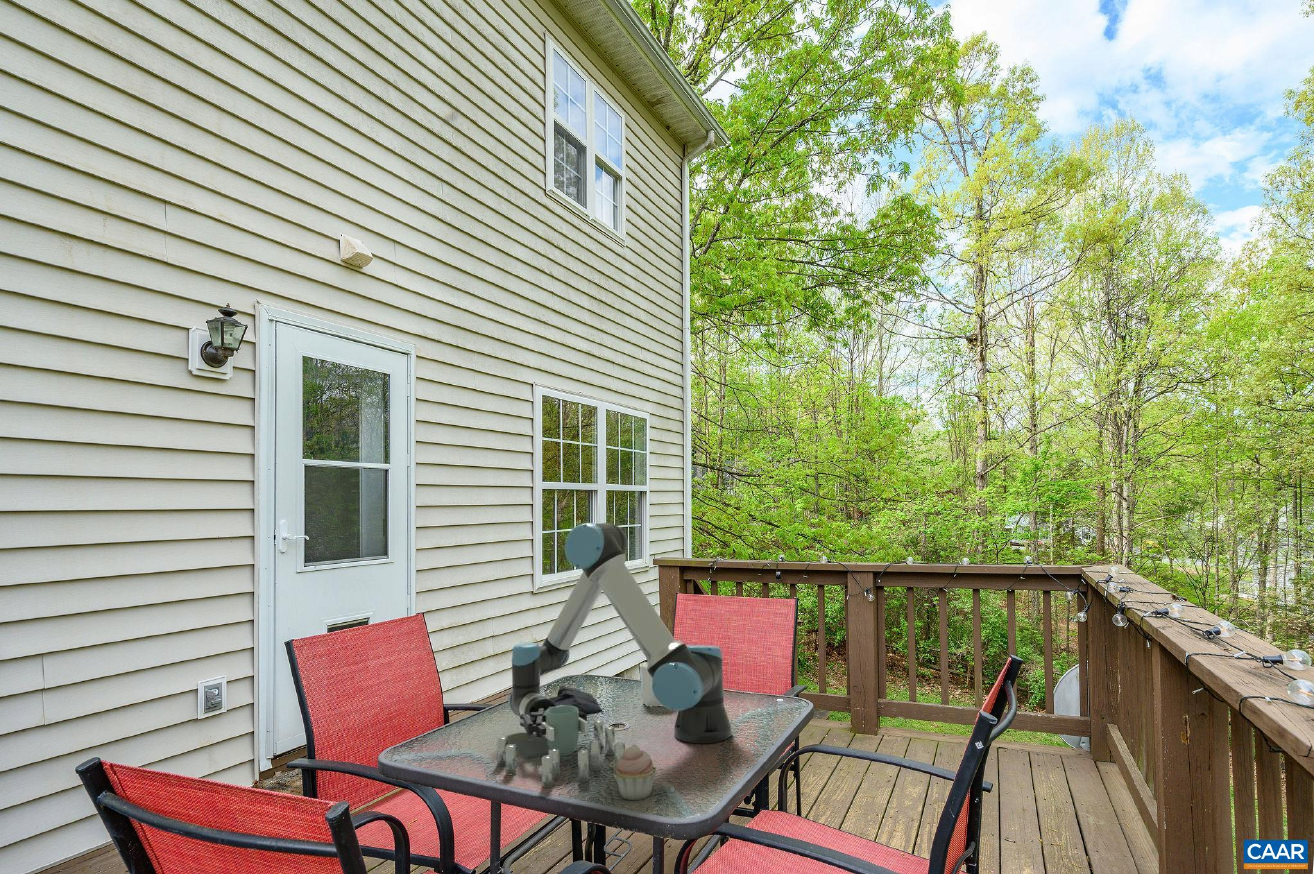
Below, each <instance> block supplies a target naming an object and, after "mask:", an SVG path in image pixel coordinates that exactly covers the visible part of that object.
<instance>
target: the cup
mask: <svg viewBox="0 0 1314 874" xmlns="http://www.w3.org/2000/svg"><path fill="white" fill-rule="evenodd" d="M546 723H547V724H548V725H550V726H551V727H553V728H554V741H550V740H549V739H547V745H548V748H549V749H551V748H559V757H562V756H564V757H565V756H569V755H571V754H573V753H574V752H575V751H576V750H577V747H578V744H579V738H580V731H579V710H578V708H577V707H575V706H568V705H566V706H556V707H551V708H549V709H547V710H546Z"/></svg>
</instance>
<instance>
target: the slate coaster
mask: <svg viewBox="0 0 1314 874" xmlns="http://www.w3.org/2000/svg"><path fill="white" fill-rule="evenodd" d="M512 744H515V745H516V750H518V751H519V752H520V753H521V752H522V753H521V754H522V755H524V757H526V759H530V758H535V757H541V756H545V755H549V748H548V745H547V738H546V737H545V736H543V737H537V738H534V739H528V740H522V741H515V742H512Z"/></svg>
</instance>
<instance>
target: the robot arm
mask: <svg viewBox="0 0 1314 874" xmlns="http://www.w3.org/2000/svg"><path fill="white" fill-rule="evenodd" d="M627 538H628V537H627V535H626V533H625V532H624V530H623V529H622V528H621V527H619V525H616V524H614V523H611V522H603V523H602V522H601V523H595V522H585V523H581V524H578V525H577V526H574V527H573V528H572V529H571V530H570V532H568V534H567V536H566V538H565V543H564V553H565V557H566V560H567V561H568V563H570V564H571V565H572V566H573V567H574V568H576V569H580V570H582V572H581V575H580V576H579V578H578V579H577V582H576V583H575V585H574V587H573V589H572V591H571V593H570V594H569V596H568V598H567V600H566V601H565V604H564V605H563V607H562V608H561V611H560V612H559V614H558V616H557V618H556V620H555V622H554V623H553V625H552V627H551V629H550V630H549V633H547V635H546V636H547V637H546V638H545V639H544V641H543V643H542V644H541V645H539V644H538V643H537V642H523V643H518V644H515V645H514V646H513V647H512V651H511V652H512V653H511V654H512V657H511V675H512V676H511V678H512V679H511V681H512V682H511V685H512V686H511V691H510V694H509V696H508V701H507V704H508V706H509V709H510V710H511V712H513V714H514V715H516V716H517V717H519V726H521V727H523V729H524V730H525V732H526V734H527V735H529V736H532V735H533V734H534V733H535V737H536V738H542V736H543V737H546V738H547V739H549V740H550V741H554V728H553V727H551V726H550V725H548V724H547V723H546V710H547V709H549V708H551V707H555V705H554V703H553V702H552V701H551V700H549V698H548V697H546V696H545V695H542V694H541V675H542V676H543V675H544V674H546V673H549V672H552V671H554V670H555V671H556V670H558V669H560V668H561V667H563V666H564V665H566V664H567V663H568V661H569V659H570V649H571V647H572V645H573V643H574V641H575V640H576V638H577V636H578V634H579V632H580V631H581V629H582V628H583V625H584V623H585V622H586V620H587V618H588V616H589V615H590V613H591V611H592V609H593V608H594V607H595V605H596V602H597V601H598V598H599V597H600V595H601V594H602V592H603V594H604V595H605V596H606V598H607V599H608V601H609V602H610V604H611V605H612V607H613V609H614V610H615V612H616V613H617V615H618V616H619V618H620V619H621V621H622V622H623V624H624V625H625V627H626V629H627V630H628V632H629V633H630V636H632V638H633V640H634V641H635V643H636V645H638V647H639V649H640V651H641V652H642V653H643V655H644V656H645V658H646V660H647V662H648V665H647V671H648V672H649V674H650V676H651V677H652V689H653V693H654V695H655V697H656V699H657V700H658V701H659V703H660V704H662V705H663V707H664V708H665V709H668V710H670V711H675V712H677V715H676V719H675V723H674V728H673V730H674V732H673V733H674V737H675V738H676V739H677V740H679V741H682V742H686V743H691V744H712V743H713V744H715V743H720V742H724V741H726V740H728V739H730V738H731V737H732V724H731V721H730V719H729V716H728V712H727V711H726V707H725V703H724V702H725V701H724V675H723V672H724V671H723V653H722V649H721V648H720V647H718V646H716V645H715V646H714V645H701V644H700V645H696V644H695V645H693V644H691V645H686V643H685V642H684V641H679V640H676V639H675V637H674V636H673V635H672V633H671V631H670V629H668V627H667V626H666V624H665V623H664V621H663V620H662V618H661V616H660V615H659V614H658V612H657V611H656V609H655V608H654V606H653V605H652V602H651V601H650V600H649V598H647V595H646V594H645V593H644V591H643V590H642V588H641V586H640V585H639V584H638V583H637V581H636V579H635V577H634V576H633V574H632V573H631V572H630V570H629V569H628V568H627V566H626V564H625V563H626V554H627V552H628V547H629V546H628V545H629V543H628V539H627ZM580 732H581V733H582V734H583V735H589V722H588V713H583V712H580V711H579V733H580ZM730 736H731V737H730ZM729 737H730V738H729ZM727 738H728V739H727ZM723 740H724V741H723ZM714 742H715V743H714Z"/></svg>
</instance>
